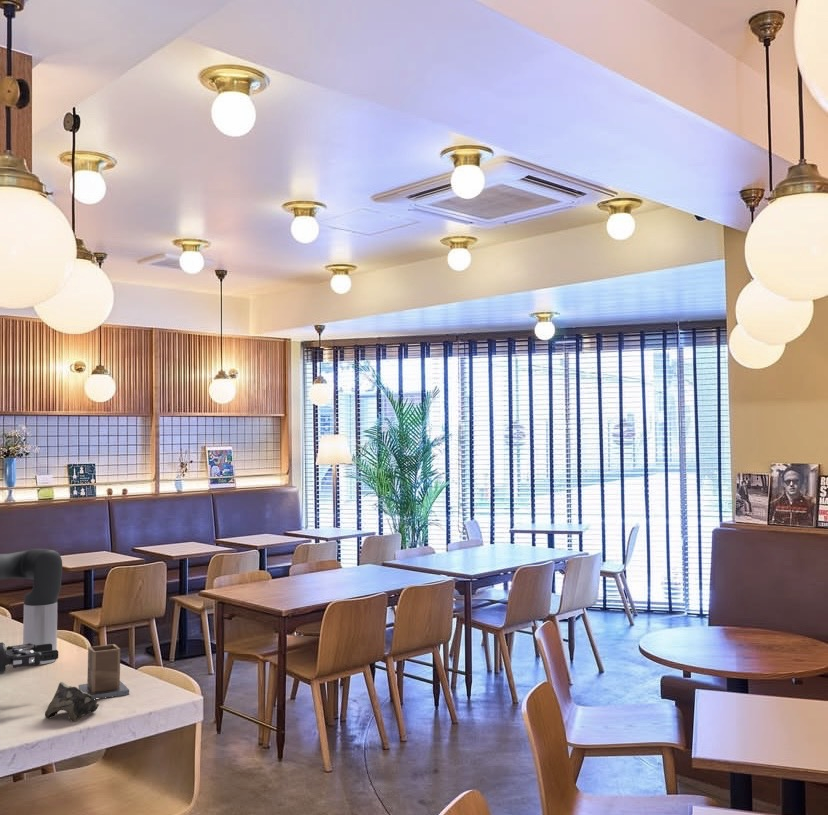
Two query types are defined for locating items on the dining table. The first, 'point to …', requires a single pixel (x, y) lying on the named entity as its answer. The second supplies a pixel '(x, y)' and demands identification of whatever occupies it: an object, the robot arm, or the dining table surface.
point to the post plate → (107, 693)
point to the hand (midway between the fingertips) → (55, 650)
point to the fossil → (71, 702)
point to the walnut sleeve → (103, 668)
